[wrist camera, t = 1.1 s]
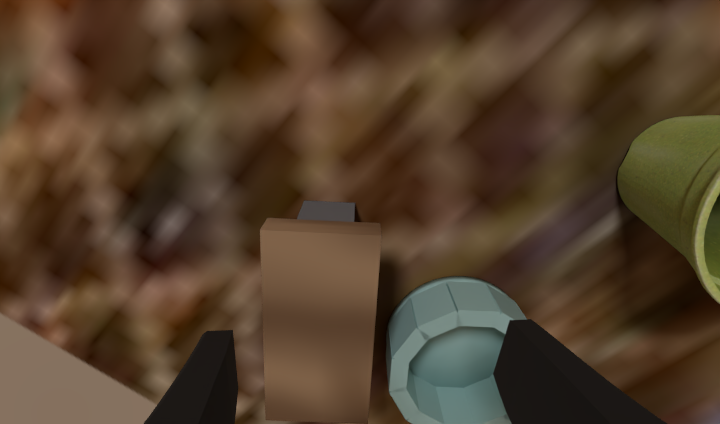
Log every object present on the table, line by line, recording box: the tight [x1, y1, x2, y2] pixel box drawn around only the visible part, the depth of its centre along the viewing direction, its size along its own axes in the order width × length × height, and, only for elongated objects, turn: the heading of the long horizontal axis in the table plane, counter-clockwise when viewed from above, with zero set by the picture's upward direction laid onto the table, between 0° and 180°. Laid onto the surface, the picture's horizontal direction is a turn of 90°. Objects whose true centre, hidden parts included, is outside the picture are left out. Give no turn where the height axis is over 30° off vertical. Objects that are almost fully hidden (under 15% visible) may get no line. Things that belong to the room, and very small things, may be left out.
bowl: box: [386, 276, 527, 424], centre depth 26 cm, size 9×9×4 cm
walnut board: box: [260, 218, 382, 424], centre depth 22 cm, size 11×6×2 cm, turn 177°
